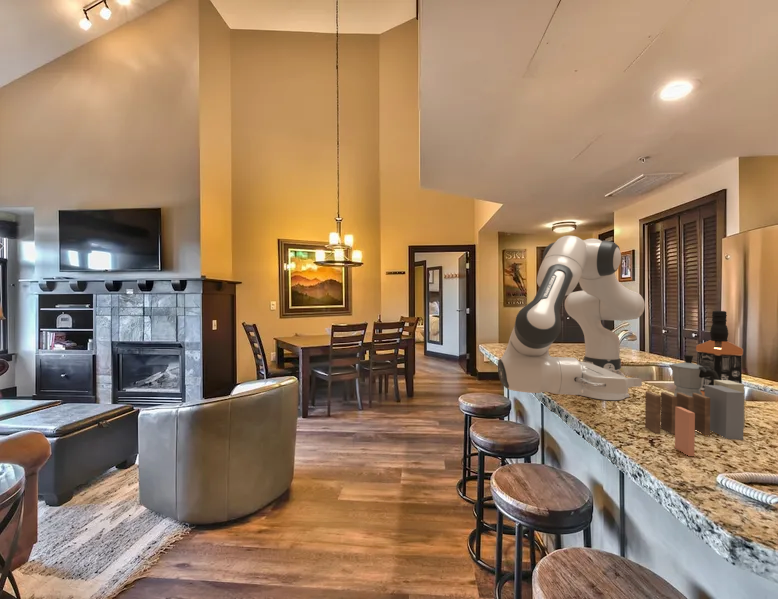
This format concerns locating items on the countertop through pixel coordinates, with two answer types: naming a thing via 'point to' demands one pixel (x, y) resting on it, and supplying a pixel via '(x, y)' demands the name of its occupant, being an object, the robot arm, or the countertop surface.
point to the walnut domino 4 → (702, 413)
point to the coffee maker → (691, 376)
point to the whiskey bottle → (720, 352)
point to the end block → (726, 411)
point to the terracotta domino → (685, 431)
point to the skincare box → (731, 387)
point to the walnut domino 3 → (685, 401)
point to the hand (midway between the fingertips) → (629, 377)
